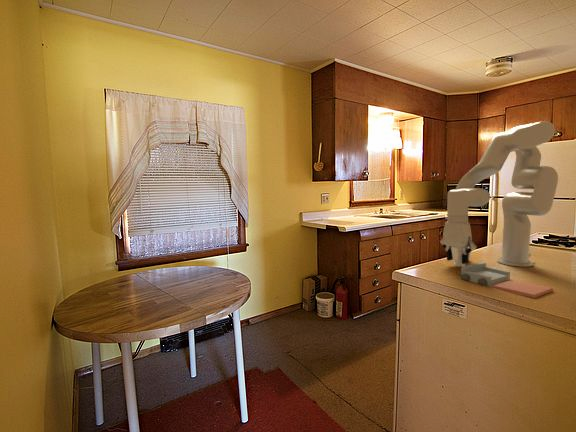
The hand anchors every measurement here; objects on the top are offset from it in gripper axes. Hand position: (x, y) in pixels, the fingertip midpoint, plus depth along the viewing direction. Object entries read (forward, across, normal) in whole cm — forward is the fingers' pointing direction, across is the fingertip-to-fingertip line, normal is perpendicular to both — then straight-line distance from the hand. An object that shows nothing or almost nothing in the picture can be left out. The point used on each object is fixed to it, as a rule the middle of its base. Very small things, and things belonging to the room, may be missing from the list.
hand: (457, 261), depth 126 cm
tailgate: (+3, +27, -6) cm, 27 cm away
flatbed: (+3, +15, -6) cm, 16 cm away
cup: (+2, 0, 0) cm, 2 cm away
